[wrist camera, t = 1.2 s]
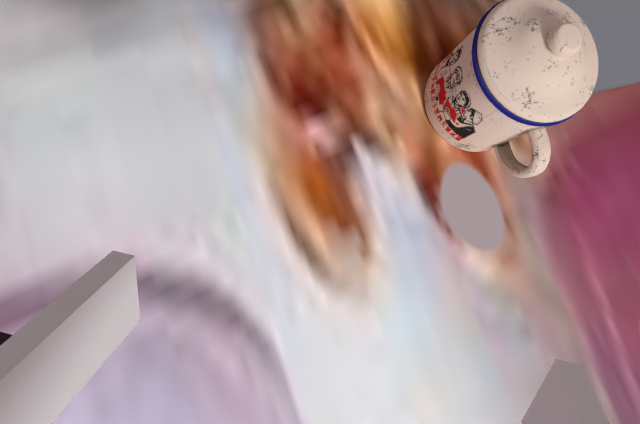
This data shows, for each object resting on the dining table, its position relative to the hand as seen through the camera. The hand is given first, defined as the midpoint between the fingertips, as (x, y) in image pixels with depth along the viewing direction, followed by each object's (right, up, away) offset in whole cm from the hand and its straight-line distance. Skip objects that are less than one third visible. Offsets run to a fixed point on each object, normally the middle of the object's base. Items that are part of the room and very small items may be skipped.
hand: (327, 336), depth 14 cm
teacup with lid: (+13, +12, +24) cm, 30 cm away
